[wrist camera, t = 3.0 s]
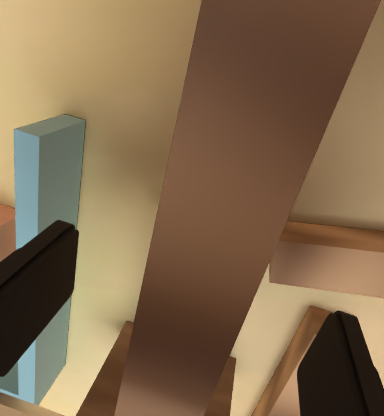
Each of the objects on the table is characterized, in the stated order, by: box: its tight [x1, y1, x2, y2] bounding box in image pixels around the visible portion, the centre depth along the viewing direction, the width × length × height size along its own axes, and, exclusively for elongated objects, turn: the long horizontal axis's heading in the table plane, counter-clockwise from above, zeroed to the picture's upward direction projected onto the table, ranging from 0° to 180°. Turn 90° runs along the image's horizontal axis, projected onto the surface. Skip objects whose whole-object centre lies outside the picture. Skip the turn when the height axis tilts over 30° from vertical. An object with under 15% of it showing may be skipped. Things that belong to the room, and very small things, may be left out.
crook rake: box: [76, 0, 381, 416], centre depth 13 cm, size 28×8×10 cm, turn 166°
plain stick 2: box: [252, 306, 334, 416], centre depth 22 cm, size 14×2×2 cm, turn 167°
